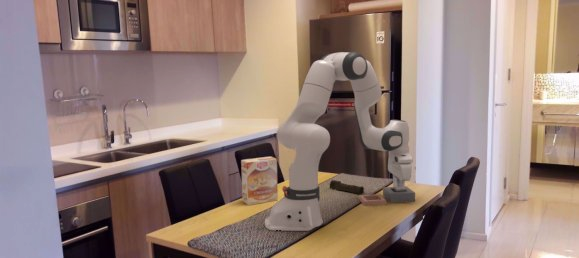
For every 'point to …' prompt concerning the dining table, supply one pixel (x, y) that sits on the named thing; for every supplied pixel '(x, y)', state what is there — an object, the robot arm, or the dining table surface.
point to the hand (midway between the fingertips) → (398, 185)
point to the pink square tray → (372, 200)
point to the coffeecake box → (259, 180)
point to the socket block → (398, 195)
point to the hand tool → (346, 187)
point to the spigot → (395, 185)
